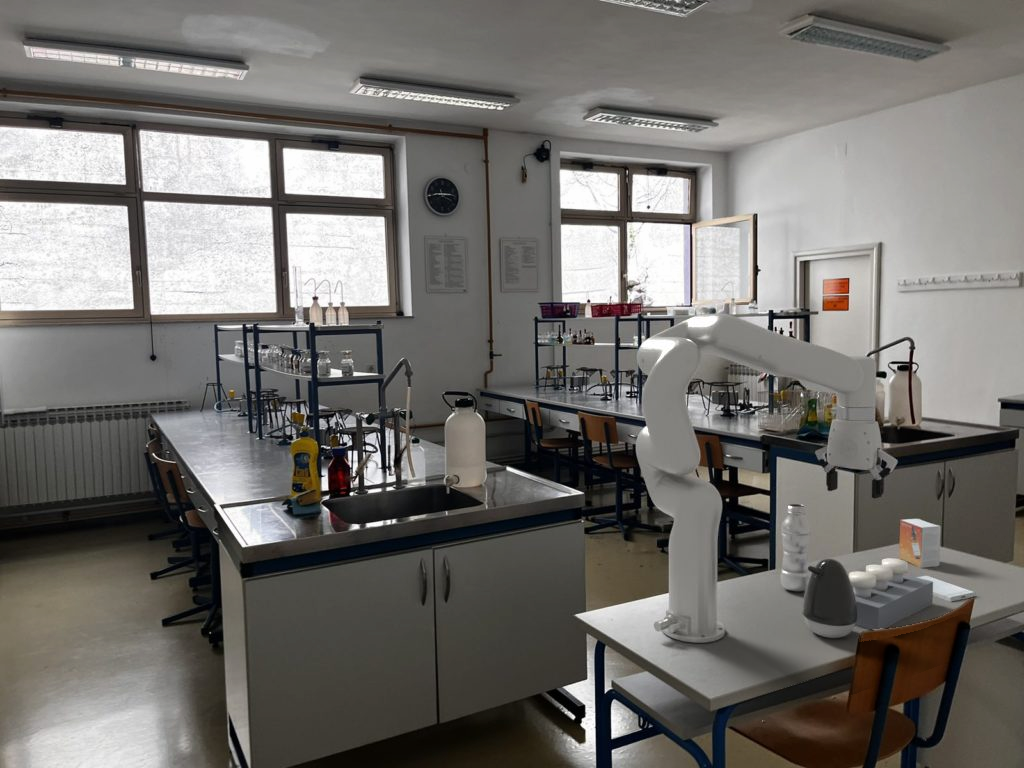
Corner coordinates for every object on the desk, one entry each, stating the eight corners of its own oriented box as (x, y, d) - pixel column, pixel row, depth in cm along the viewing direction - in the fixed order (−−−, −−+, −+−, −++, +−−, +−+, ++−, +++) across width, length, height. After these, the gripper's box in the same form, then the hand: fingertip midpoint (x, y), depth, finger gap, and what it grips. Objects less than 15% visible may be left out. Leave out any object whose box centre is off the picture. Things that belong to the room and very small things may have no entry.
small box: (898, 558, 198) (899, 519, 197) (917, 557, 199) (918, 517, 198) (920, 568, 190) (922, 527, 189) (940, 566, 191) (941, 525, 190)
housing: (878, 632, 152) (878, 607, 151) (822, 614, 161) (822, 591, 161) (932, 603, 166) (933, 581, 166) (878, 589, 176) (878, 568, 175)
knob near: (867, 608, 156) (868, 581, 155) (843, 601, 160) (844, 574, 159) (880, 602, 159) (881, 575, 158) (856, 596, 163) (857, 569, 162)
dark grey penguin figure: (790, 627, 155) (791, 554, 154) (831, 620, 158) (832, 549, 157) (826, 647, 145) (827, 570, 144) (868, 639, 149) (870, 563, 147)
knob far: (900, 593, 164) (901, 567, 164) (876, 586, 168) (877, 561, 168) (911, 587, 167) (912, 562, 167) (888, 581, 171) (888, 556, 171)
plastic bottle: (815, 594, 173) (816, 508, 171) (785, 594, 173) (786, 509, 172) (804, 585, 179) (806, 502, 178) (776, 585, 180) (777, 502, 178)
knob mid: (884, 600, 160) (885, 574, 159) (860, 594, 164) (861, 568, 164) (896, 595, 163) (897, 568, 163) (872, 588, 167) (873, 563, 167)
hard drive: (902, 580, 179) (950, 596, 167) (927, 575, 182) (976, 591, 171) (902, 586, 179) (950, 604, 168) (927, 581, 182) (976, 598, 171)
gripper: (808, 412, 165) (807, 490, 166) (889, 419, 152) (887, 503, 153) (825, 409, 170) (824, 484, 171) (905, 416, 156) (903, 497, 158)
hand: (854, 493), depth 162 cm, fingers open, 9 cm apart
